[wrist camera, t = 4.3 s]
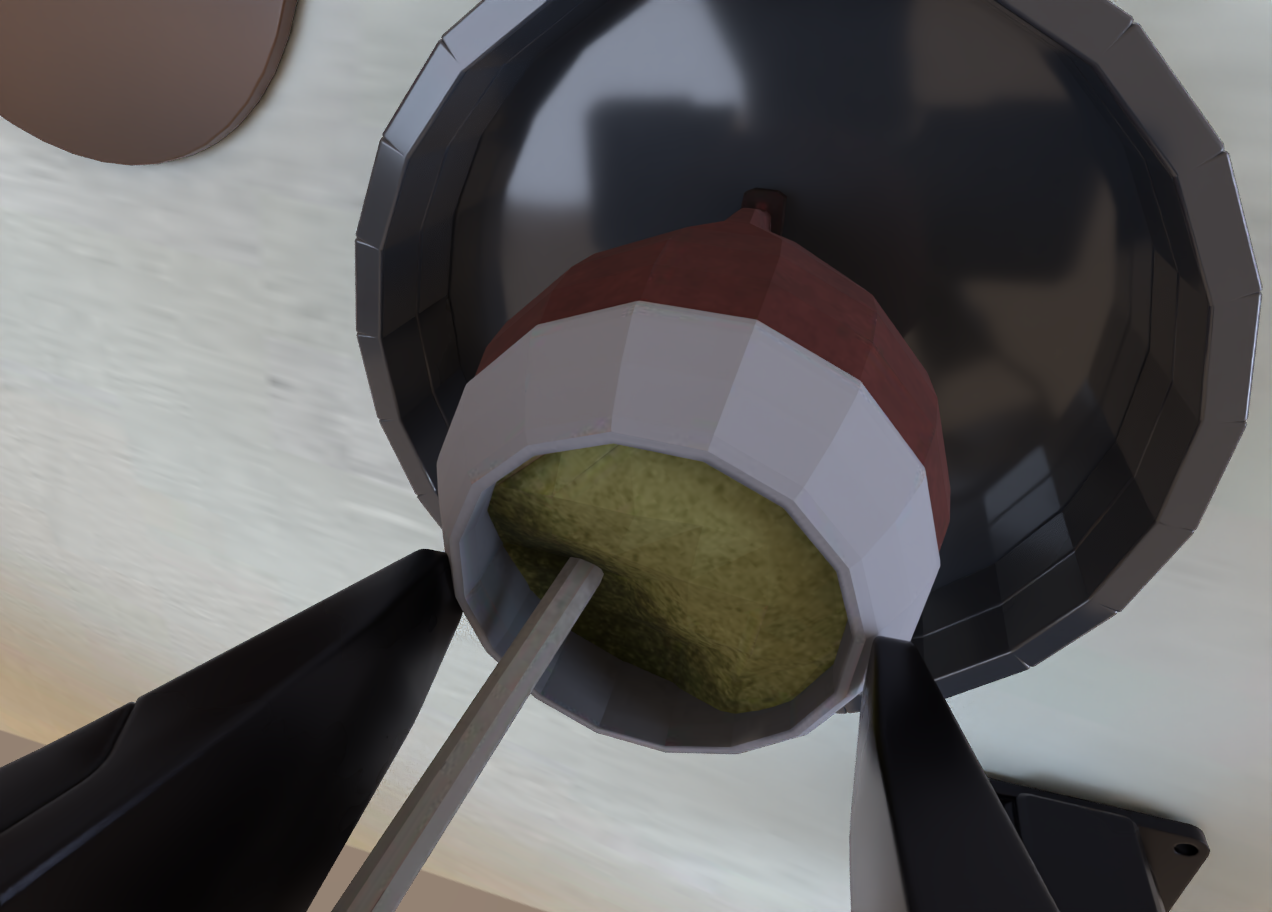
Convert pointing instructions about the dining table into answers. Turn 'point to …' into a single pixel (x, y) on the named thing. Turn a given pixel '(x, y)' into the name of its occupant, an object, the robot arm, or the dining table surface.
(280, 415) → the dining table surface
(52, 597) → the dining table surface
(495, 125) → the pan
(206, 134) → the disc
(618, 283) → the mate gourd
